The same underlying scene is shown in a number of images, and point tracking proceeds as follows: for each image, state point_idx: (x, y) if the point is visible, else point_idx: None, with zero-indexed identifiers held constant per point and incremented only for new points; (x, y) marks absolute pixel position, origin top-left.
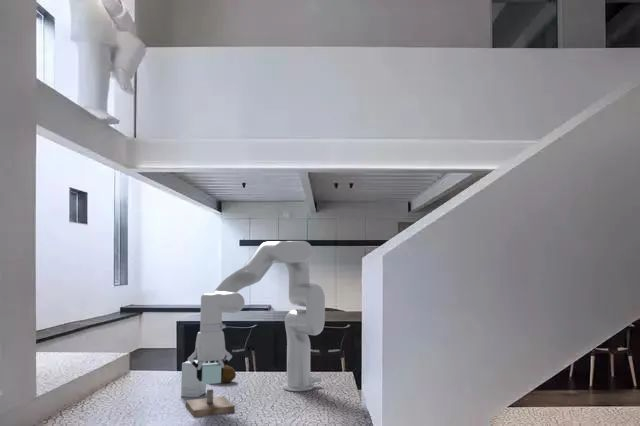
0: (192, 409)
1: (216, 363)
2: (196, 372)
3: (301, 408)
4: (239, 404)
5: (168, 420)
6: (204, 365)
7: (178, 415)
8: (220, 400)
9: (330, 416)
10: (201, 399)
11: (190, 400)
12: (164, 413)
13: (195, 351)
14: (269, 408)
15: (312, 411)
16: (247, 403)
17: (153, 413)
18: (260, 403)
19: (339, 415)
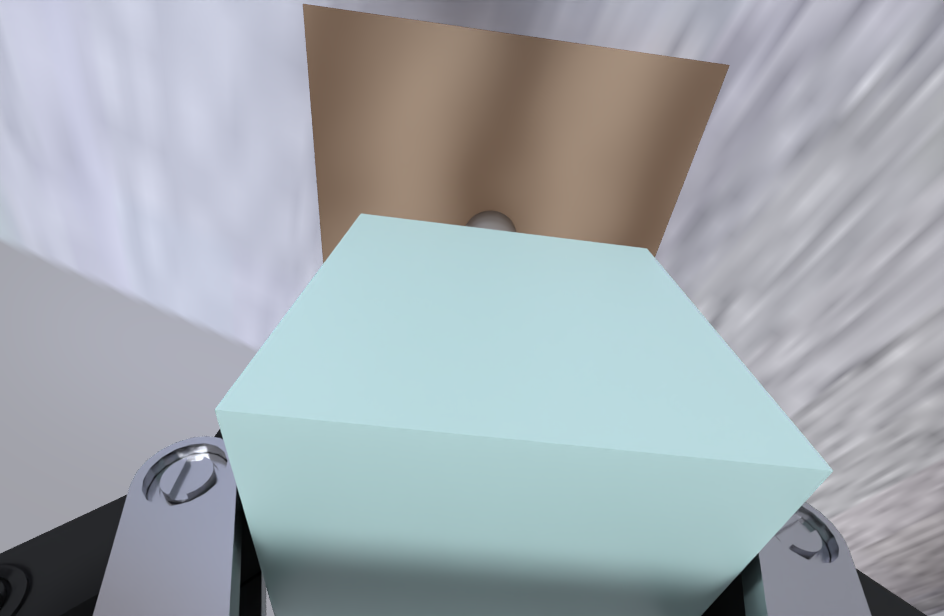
0: None
1: (728, 541)
2: None
3: (919, 461)
4: (742, 220)
5: (185, 318)
6: (345, 589)
7: (248, 254)
8: (605, 205)
9: (871, 569)
10: (467, 66)
11: (351, 41)
12: (138, 152)
13: None
14: (804, 391)
15: (899, 509)
16: (808, 226)
17: (40, 102)
18: (873, 275)
19: (908, 574)
